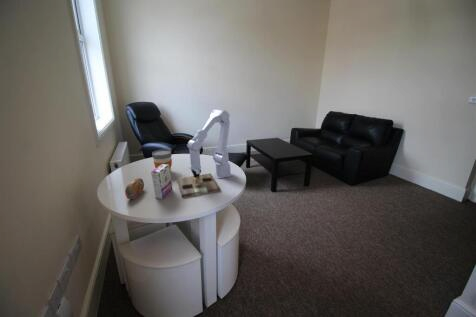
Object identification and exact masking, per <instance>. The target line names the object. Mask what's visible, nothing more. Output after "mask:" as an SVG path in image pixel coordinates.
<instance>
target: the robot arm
mask: <svg viewBox="0 0 476 317" xmlns="http://www.w3.org/2000/svg"><path fill="white" fill-rule="evenodd" d="M230 115H231V114H230V113H229V112H228V111H227V110H225V109H224V110H222V109H218V108H215V109H213V110H212V111H211V113H210V117H209V118H208V119H207V121H206V123H205V124H204V126H203V127H202V128H201V129H199V130H196V133H195V135H194V136H193V137H192V139H190V140H189V141H188V142H187V144H186V147H187V148H188V150H189V160H190V161H189V162H190V166H189V167H188V168H189V170H190V171H191V173H192V174H193V175H192V176H194V177H199V176H200V175H201V174H202V173H201V172H202V166H201V154H200V152H201V151H200V150H201V148H202V144H203V143H204V141H205V139H206V138H207V137H208V132H209V131H210V130H211V128H212V127H213V126H215V124H216V123H219V124H220V131H219V135H218V136H219V137H218V143H217V144H218V145H217V149H215V151H214V154H213V157H212V160H213V161H214V163H215V173H214V176H215V177H216V179H223V178H231V177H232V175H231V164H230V162H229V160H230V159H229V152H228V151H227V146H228V139H229V131H230V126H231V125H230V124H231V122H230Z"/></svg>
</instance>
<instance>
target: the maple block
mask: <svg viewBox="0 0 476 317" xmlns="http://www.w3.org/2000/svg"><path fill="white" fill-rule="evenodd" d="M194 184H195V186H199V185H202V179H201V177H200V176H199V177H194Z"/></svg>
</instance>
